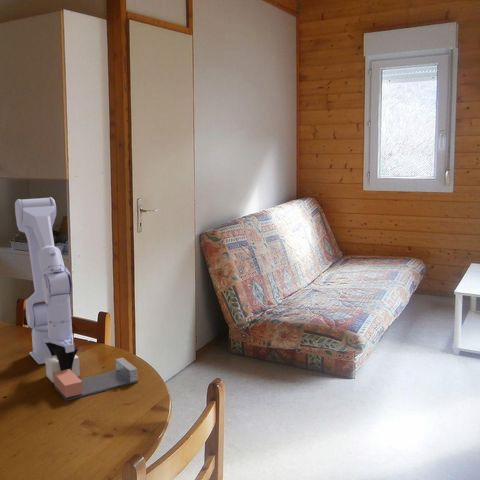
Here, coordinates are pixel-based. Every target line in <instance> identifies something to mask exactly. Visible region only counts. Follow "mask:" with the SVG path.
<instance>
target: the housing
mask: <svg viewBox="0 0 480 480" xmlns="http://www.w3.org/2000/svg"><path fill="white" fill-rule="evenodd" d="M45 362H46V363H45V372H46V377H47V379H49V381H51V383H53V384H54V377H53V373H54V372H58V371H61V370H60V365H59V361H58V359H57V356H56V355H54V356H49V357H45ZM72 372H73V373H74V374H75V375H76V376H77V377H78V378H79V377H81V371H80V357H79V356H78V355H77V354H76V355H75V357H74V360H73V365H72Z"/></svg>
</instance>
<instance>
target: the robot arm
mask: <svg viewBox="0 0 480 480" xmlns="http://www.w3.org/2000/svg"><path fill="white" fill-rule="evenodd" d="M14 213H15V219H16V226H17V228H18V231H19V232H21V233H23V234H25V237H26V241H27V244H28V254H29V259H30V267H31V275H32V281H33V289H34V292H32V294H31V296H29V297H28V298H27V299H26V301H25V316H26V317H25V319H26V323H27V326H28V327H29V328H30V329H31V339H32V342H31V344H32V351H30V352H29V355H30V356H31V357H32V358H33V360H34V361H35V362H36V363H37V364H38V365H43V364H46V362H45V357H49V356H54V355H56V356H57V359H58V361H59V365H60V370H61V371H63V370H67V369H70V370H71V371H72V365H73V360H74V357H75V355H77V353H78V352H79V351H78V350H79V348H78V347H77V346H76V345H75V344H74V334H73V326H72V323H73V322H72V311H71V295H70V294H73V280H72V279H73V278H72V276H71V273H70V271H69V269H68V268H67V267H66V266H65V263H64V259H63V256H62V251H61V249H60V248H58V247H57V246H55V241H54V235H53V234H54V233H53V225H54V223H55V220H56V218H57V205H56V201H55V199H54V198H53V197H51V196H50V197H41V198H25V199H20V198H18V199H16V201H15V202H14Z"/></svg>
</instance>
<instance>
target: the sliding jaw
mask: <svg viewBox="0 0 480 480" xmlns="http://www.w3.org/2000/svg"><path fill="white" fill-rule="evenodd" d="M53 377H54V382H53V386H54V385H55V386H56V387H57V388H58V389H59V391H60V392H61V393H62V394H63V395H64V396H65V397H66V398H68V397H71V396H75V395H79V394H83V388H82V381H81V380H80V379H81V378H79V376H78V377H77V376H76V375H75V374H74V373H73V372H72V371H71V370H70V369H67V370H63V371H58V372H54V373H53Z"/></svg>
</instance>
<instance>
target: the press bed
mask: <svg viewBox="0 0 480 480" xmlns="http://www.w3.org/2000/svg"><path fill="white" fill-rule="evenodd" d="M114 361H115V369H114V370H110V371H107V372H102V373H99V374H95V375H91V376H87V377H82V378H79V379H80V380H81V381H82V388H83V394H79V395H75V396H71V397H68V398H66V397H65V396H64V395H63V394H62V393H61V392H60V391H59V389H58V388H57V387H56V386H55V385H54V384H53V387H54V389H55V390H56V392H57V393H59V395H60V396H61V397H62V398H63V399H64V401H66V402H68V401H72V400H75V399H80V398H83V397H87V396H91V395H94V394H99V393H101V392H105V391H109V390H113V389H116V388H121V387H125V386H128V385H132V384H135V383H138V382H139V381H138V380H139V376H138V368H137V367H136V366H134V365H133V364H132V363H130V362H129V361H128V360H127V359H126V358H124V357H119V358H115V359H114Z"/></svg>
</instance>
